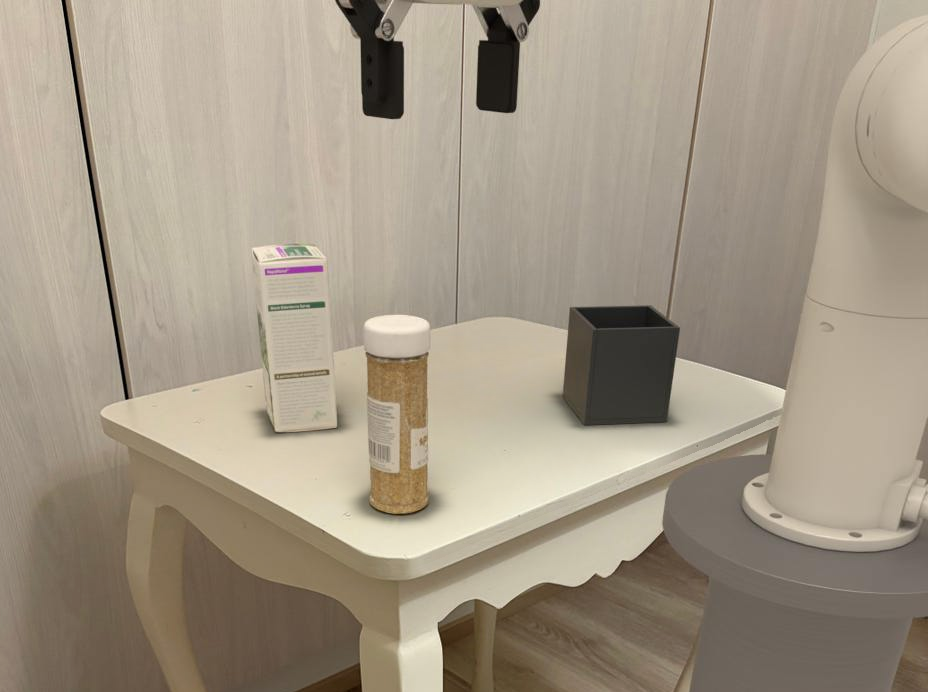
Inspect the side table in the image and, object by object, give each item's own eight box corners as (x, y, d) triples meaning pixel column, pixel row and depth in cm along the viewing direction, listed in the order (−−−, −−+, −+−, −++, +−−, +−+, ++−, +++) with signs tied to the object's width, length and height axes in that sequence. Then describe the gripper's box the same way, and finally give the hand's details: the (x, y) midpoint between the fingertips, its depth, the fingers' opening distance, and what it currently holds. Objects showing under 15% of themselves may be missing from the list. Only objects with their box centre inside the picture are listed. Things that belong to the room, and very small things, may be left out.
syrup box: (339, 428, 87) (331, 255, 80) (272, 434, 86) (258, 258, 78) (327, 407, 92) (319, 241, 84) (263, 412, 91) (249, 244, 83)
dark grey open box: (639, 394, 97) (651, 305, 92) (667, 422, 90) (680, 327, 86) (562, 397, 96) (569, 306, 91) (584, 425, 89) (593, 329, 85)
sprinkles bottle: (439, 509, 74) (442, 325, 66) (382, 520, 72) (379, 332, 65) (413, 486, 77) (413, 309, 70) (358, 496, 75) (353, 315, 68)
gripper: (368, -285, 46) (373, 126, 56) (604, -225, 57) (576, 114, 66) (276, -262, 51) (294, 114, 60) (510, -210, 61) (495, 105, 70)
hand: (441, 114), depth 63 cm, fingers open, 9 cm apart
